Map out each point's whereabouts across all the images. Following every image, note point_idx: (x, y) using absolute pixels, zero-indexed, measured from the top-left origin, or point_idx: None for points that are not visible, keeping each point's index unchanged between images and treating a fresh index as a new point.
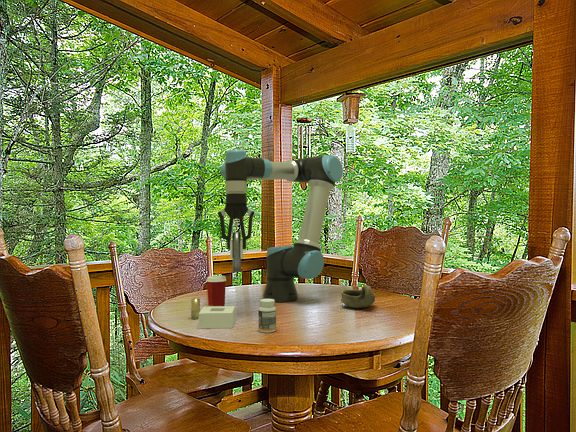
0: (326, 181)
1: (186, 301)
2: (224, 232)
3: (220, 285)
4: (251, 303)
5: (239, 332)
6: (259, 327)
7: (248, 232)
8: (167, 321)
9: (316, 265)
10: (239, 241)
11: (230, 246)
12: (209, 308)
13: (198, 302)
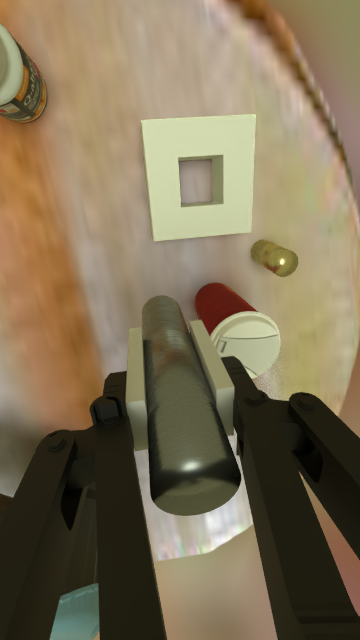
0: None
1: None
2: (322, 439)
3: (222, 316)
4: None
5: (105, 67)
6: (34, 64)
7: (49, 485)
8: (329, 216)
9: None
10: (153, 400)
11: (218, 360)
12: (229, 200)
13: (272, 254)
